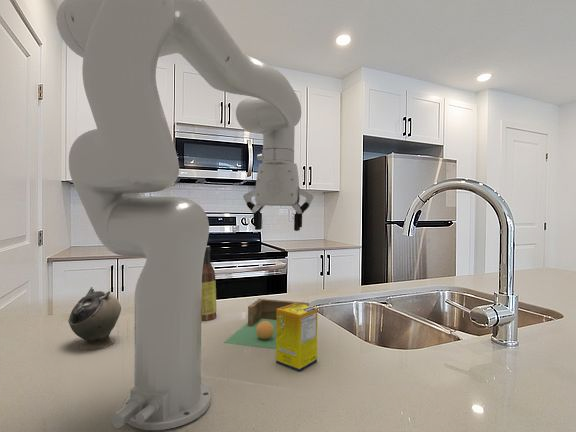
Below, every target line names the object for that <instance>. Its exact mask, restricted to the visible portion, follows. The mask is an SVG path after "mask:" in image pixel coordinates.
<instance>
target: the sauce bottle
mask: <svg viewBox="0 0 576 432" xmlns="http://www.w3.org/2000/svg"><path fill="white" fill-rule="evenodd" d="M211 250H212V249H211V245H207V246H206V250H205V255H204V261H203V270H202V294H201V302H202V308H201V322H206V321H212V320H215V319H216V317H217V288H216V287H217V286H216V274H215V273H216V272H215V270H214V268H213V266H212V263H211Z"/></svg>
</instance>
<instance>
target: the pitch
mask: <svg viewBox="0 0 576 432" xmlns="http://www.w3.org/2000/svg"><path fill="white" fill-rule="evenodd" d="M262 321H268V322H270V323H271V324H272V325H273V328H274V331H273V334H272V336H271V337H270V338H268V339H261V338H260V337H259V336H258V335H257V332H256V328H257V325H258V324H259V323H260V322H262ZM223 343H224V344H229V345H239V346H245V347H246V346H248V347H255V348H263V349H272V350H276V320H272V319H260V320H259V321H258V322H257V323H256V324H255V325H253V326H248V322H247V323H246V324H245V325H243V326H242V327H240V329H239V330H237V331H236V332H235V333H233V334H232V335H231V336H229V337H228V338H227V339H226V340H224V342H223Z"/></svg>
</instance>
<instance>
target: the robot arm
mask: <svg viewBox="0 0 576 432" xmlns="http://www.w3.org/2000/svg"><path fill="white" fill-rule="evenodd" d="M56 27H57V30H58V33H59V35H60V37H61V38H62V40H63V42H64V43H65V44H66V46H67V47H68V48H69V50H71V51H72V52H74V54H76V55H77V56H79V57H81V58H82V67H81V68H82V84H83V87H84V92H85V96H86V99H87V101H88V102H87V103H88V104H89V108H90V110H91V115H92V117H93V119H94V120H93V121H94V124H95V126H96V128H95V129H91V130H88V131H86V132H83V133H82V134H80V135H79V136H77V137H76V139H75V140H74V141H73V143H72V144H71V147H70V150H69V152H68V153H69V155H68V171H69V175H70V177H71V181H72V182H73V186H74V188H75V190H76V193H77V195H78V197H79V200H80V202H81V204H82V206H83V209H84V210H85V213H86V215H87V217H88V219H89V221H90V223H91V225H92V228H93V230H94V233H95V234H96V237H97V238H98V240H99V241H100V242H101V244H102V245H103V246H104V247H105V249H107V250H108V251H109V252H111V253H113V254H114V255H117V256H121V257H128V258H135V259H136V258H137V259H146V261H145V263H144V265H143V268H142V270H141V272H140V274H139V276H138V279H137V281H136V284H135V291H134V370H133V371H134V373H133V375H134V380H133V381H134V386H133V387H132V388H130V394H129V396H128V397H127V398H126V399H125V401H124V402H123V405H122V407H120V408H119V409H118V410H116V411H115V412H114V413H113V414H111V416H110V422H111V425H112V426H113V427H114V428H116V429H120V428H122V427H123V426H124V425H126V424H128V425H129V426H131V427H133V428H135V429H140V430H145V431H163V430H165V431H166V430H169V429H170V430H171V429H174V428H178V427H181V426H185V425H187V424H189V423H191V422H193V421H195V420H196V419H198V418H200V417H201V416H202V415H204V414H205V412H206V411H207V410H208V409H209V408H210V405H211V402H212V392H211V390H210V387H209V386H207V384H205V383H204V382H202V321H201V308H202V302H201V294H202V270H203V261H204V255H205V250H206V246H208V240H209V235H210V233H209V232H210V223H209V222H210V221H209V218H208V215H207V213H206V212H205V210H204V208H203V207H202V206H201V205H200V204H198V203H197V202H195V201H194V200H192V199H189V198H184V197H181V196H148V197H147V196H146V197H145V196H142V195H141V194H145V193H147V194H149V193H156V192H160V191H161V192H162V191H164V190H166V189H169V188H171V187H172V186H173V185H174V184H175V183H176V182H177V180H178V178H179V175H180V174H179V173H180V165H179V164H180V163H179V158H178V155H177V151H176V147H175V144H174V140H173V137H172V134H171V132H170V131H171V130H170V128H169V124H168V122H167V118H166V115H165V112H164V108H163V105H162V103H161V100H160V99H161V97H160V94H159V90H158V87H157V78H156V77H157V66H158V60H159V58H161V57H166V56H169V55H174V54H179V55H181V56H182V57H183V58H184V59H185V61H186V62H187V63H189V65H190V66H192V68H193V69H194V70H195V71H196V72H197V73H198V74H199V75H200V76H201V77H202V78H203V79H204V81H206V83H207V84H208V85H209V86H210V87H211V88H213V89H215V90H218V91H220V92H224V93H229V94H233V95H239V96H246V97H247V98H244V99H242V100H241V101H240V102H239V103H238V104H237V106H236V108H235V117H236V121H237V123H238V124H239V126H240V127H241V128H242V129H243V130H245V131H247V132H250V133H256V134H262V136H263V137H262V140H263V142H262V151H261V153H260V154H257V155H256V156H257V157H256V159H257V160H258V161H261V162H262V163H259V165H258V168H257V175H256V180H255V188H254V189H252V190H250V191H248V192H247V193H244V194H243V200H244V202H245V203H246V206H247V207H248V209H249V210H250V211H251V212H252V215H253V219H252V220H253V221H252V222H253V227H254V230H257V231H258V230H262V228H263V226H262V225H263V213H262V212H261V211H262V210H263V209H264V207H265V206H268V207H270V206H271V207H272V206H273V207H274V206H275V207H276V206H280V207H287V206H289V207H290V206H291V207H292V208H293V209H294V211H295V214H294V215H293V216H294V218H293V221H294V222H293V223H294V224H293V226H294V227H293V230H294V231H295V232H298V231H300V230H301V228H302V227H303V214H304V212H305V211H306V210H308V209H309V207H310V206H311V204H312V202H313V200H314V199H315V197H314V195H313V194H312V193H310V192H308V191H307V190H304V189H303V188H301V187H300V181H299V180H300V178H299V177H300V176H299V171H298V170H299V169H298V164H297V163H295V136H296V135H295V130H296V129H295V126H297V125H298V124H299V123H300V121H301V118H302V106H301V102H300V99H299V97H298V95H297V93H296V91H295V90H294V88H293V87H292V85H291V84H290V82H289V80H288V79H287V78H286V76H285V75H284V74H283V73H281V72H280V71H279V70H277V69H275V68H274V67H272V66H270V65H268V64H267V63H265V62H263V61H262V60H259V59H256V58H255V57H252V56H250V55H247V54H245V53H244V52H243V51H242V49H241V48H240V46H239V45H238V44H237V42H236V41H235V40H234V38H233V37H232V36H231V33H230V32H229V31H228V30H227V28H226V27H225V26H224V24H223V23H222V21H221V20H220V19H219V17H218V16H217V14H216V13H215V11H214V10H213V9H212V8H211V6H210V5H209V3H207V1H206V0H63V1H62V2H61V3H60V5H59V6H58V8H57V11H56ZM300 195H301V196H302V197H304V198H305V200H304V203H303V204H302V205H300V200H301V199H300V198H301V197H300ZM253 197H254V201H255V203H256V204H254V202H253V201H252V198H253Z"/></svg>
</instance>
